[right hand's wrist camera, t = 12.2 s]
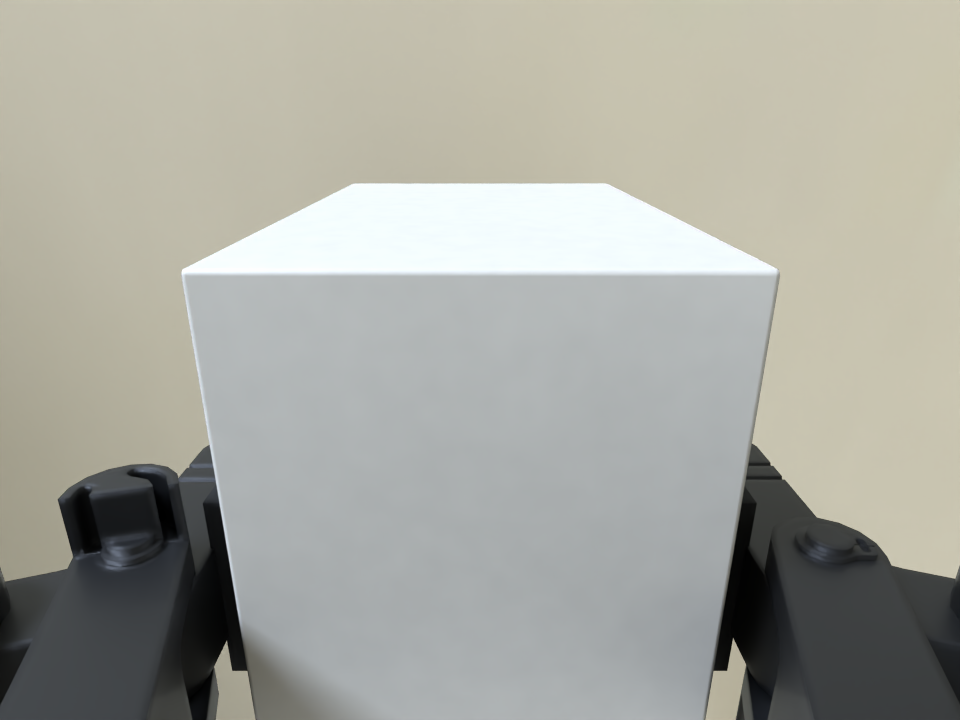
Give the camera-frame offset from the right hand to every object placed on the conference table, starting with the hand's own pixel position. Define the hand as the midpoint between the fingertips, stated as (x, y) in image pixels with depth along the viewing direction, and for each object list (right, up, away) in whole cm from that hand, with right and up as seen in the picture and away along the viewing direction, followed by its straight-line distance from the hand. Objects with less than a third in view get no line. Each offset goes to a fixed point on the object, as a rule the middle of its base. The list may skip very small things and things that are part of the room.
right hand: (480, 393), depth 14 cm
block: (0, 0, 0) cm, 0 cm away
